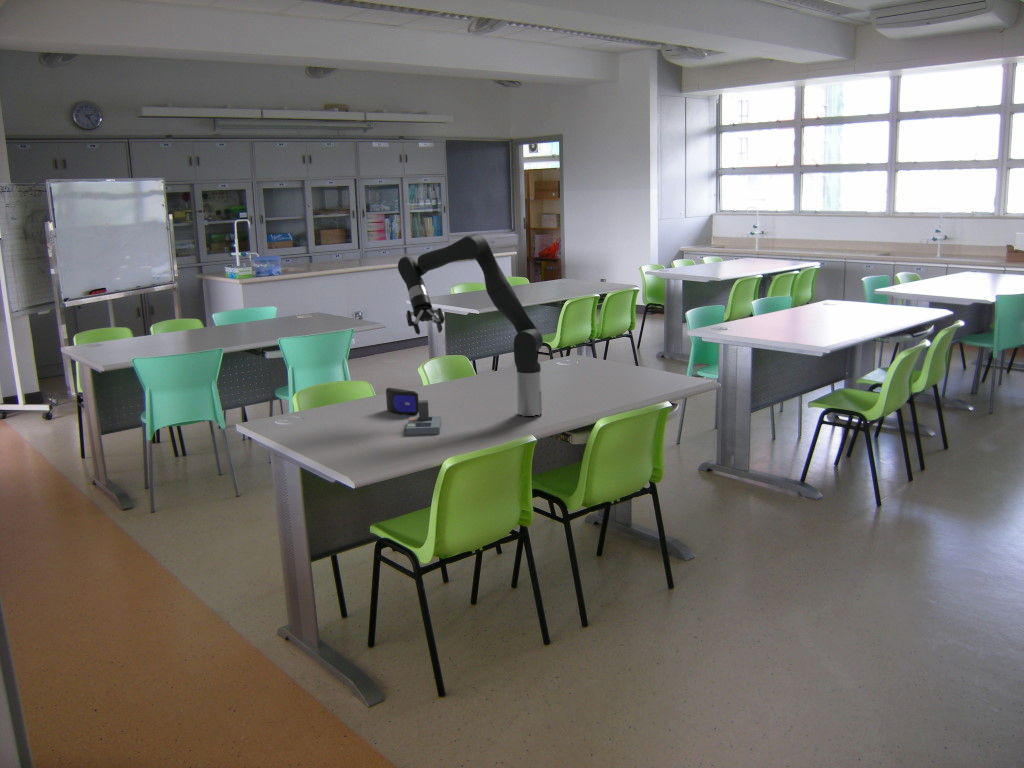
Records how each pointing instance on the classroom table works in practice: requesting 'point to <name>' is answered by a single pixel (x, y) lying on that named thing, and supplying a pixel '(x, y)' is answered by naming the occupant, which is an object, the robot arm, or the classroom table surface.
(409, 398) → the leaning round-cornered charcoal block
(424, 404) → the dark gray upright block
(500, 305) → the robot arm
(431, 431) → the socket strip
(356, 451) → the classroom table surface
